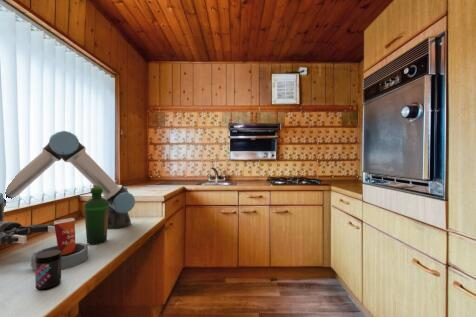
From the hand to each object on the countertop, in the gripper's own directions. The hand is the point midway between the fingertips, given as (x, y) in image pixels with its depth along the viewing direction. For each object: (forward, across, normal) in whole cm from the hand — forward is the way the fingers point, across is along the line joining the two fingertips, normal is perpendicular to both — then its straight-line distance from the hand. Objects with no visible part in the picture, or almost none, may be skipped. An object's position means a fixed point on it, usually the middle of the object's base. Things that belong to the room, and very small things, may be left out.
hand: (43, 234), depth 102 cm
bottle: (+4, -22, -10) cm, 25 cm away
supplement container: (+24, +16, -10) cm, 30 cm away
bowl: (+10, 0, -10) cm, 14 cm away
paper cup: (+8, -4, -8) cm, 12 cm away
